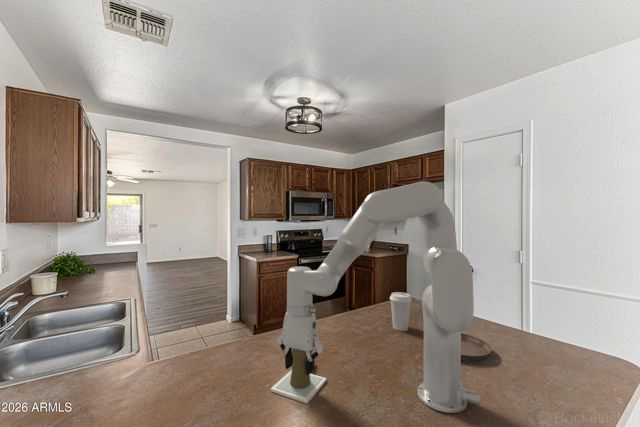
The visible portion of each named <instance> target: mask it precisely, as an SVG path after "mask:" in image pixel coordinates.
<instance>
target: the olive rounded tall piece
mask: <svg viewBox="0 0 640 427" xmlns="http://www.w3.org/2000/svg"><path fill="white" fill-rule="evenodd" d="M291 351H292V356H293V357H294V358H293V365H292V366H291V370H292V372H291V379H290V385H291V386H292V387H294V388H297V389H303V388H306V387H308V386H309V385H310V375H307V374H306V362H307V361H308V358H307V355H306V352H305V351H302V350H299V349H294V348H292V350H291Z"/></svg>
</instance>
